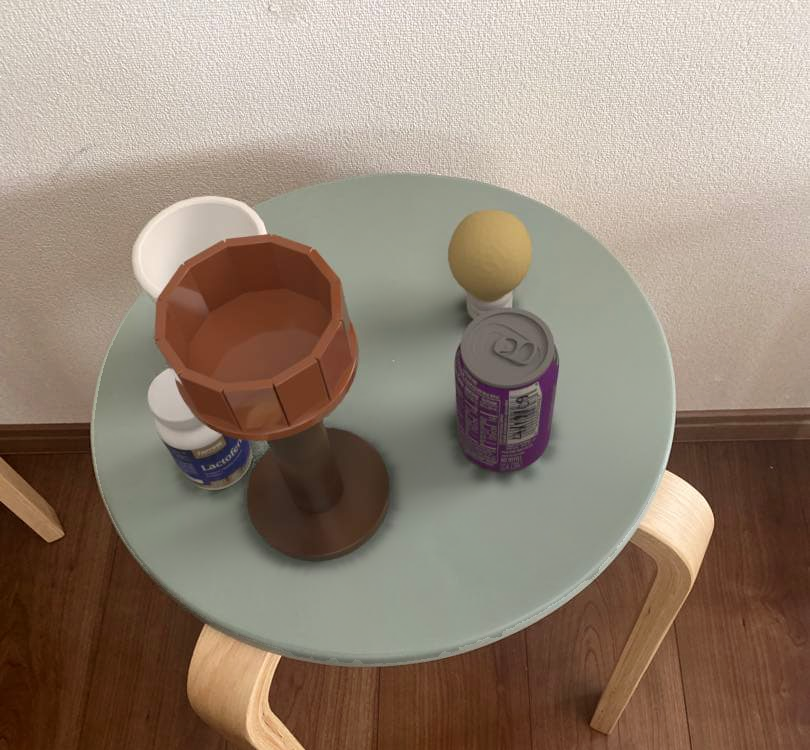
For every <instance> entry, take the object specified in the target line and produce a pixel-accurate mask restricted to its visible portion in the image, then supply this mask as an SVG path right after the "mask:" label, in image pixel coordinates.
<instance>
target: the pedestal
mask: <svg viewBox="0 0 810 750" xmlns="http://www.w3.org/2000/svg"><path fill="white" fill-rule="evenodd" d="M266 443H267V445H268V447H269V448H268V449H267V450H266V451H265V452H264V453H263V455H261V457H260V458H259V460H258V461H257V462H256V464H255V465H254V468H253V469H252V471H251V474H250V478H249V480H248V484H247V489H246V505H247V510H248V514H249V518H250V521H251V523H252V525H253V526H254V528H255V530H256V531H257V533H258V534H259V536H260V537H261V538H262V539H263V541H264V542H265V543H266V544H268V545H269V546H270V547H271V548H272V549H274V550H275V551H276V552H279V553H281V554H282V555H284V556H287V557H290V558H293V559H296V560H301V561H306V562H307V561H308V562H323V561H329V560H334V559H337V558H341V557H343V556H346V555H348V554H350V553H352V552H354V551H356V550H357V549H359V548H360V547H362V546H363V545H364V544H365V543H366V542H368V541H369V540H370V539H371V538H372V537H373V536H374V535H375V533H377V531H378V530H379V528H380V526H381V525H382V523H383V522H384V520H385V517H386V515H387V512H388V510H389V507H390V501H391V483H390V478H389V473H388V470H387V466H386V464H385V462H384V460H383V459H382V457H381V455H380V454H379V452H378V451H377V450H376V449H375V448H374V447H373V446H372V445H371V443H369V442H367V440H365V439H364V438H362V437H360V436H359V435H357V434H355V433H353V432H351V431H347V430H345V429H341V428H335V427H326V426H325V423H324V419H323V420H321V421H320V422H318V423H317V424H316V425H314V426H312V427H310V428H308V429H306V430H305V431H302V432H300V433H297V434H295V435H292V436H288V437H285V438H281V439H275V440H269V441H266Z"/></svg>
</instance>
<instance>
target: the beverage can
mask: <svg viewBox="0 0 810 750" xmlns="http://www.w3.org/2000/svg"><path fill="white" fill-rule="evenodd" d="M453 364H454V365H453V367H454V384H455V385H454V386H455V404H456V405H455V407H456V409H455V410H456V425H457V429H456V430H457V440H458V443H459V447H460V448H461V450H462V452H463V453H464V454H465V456H466V457H467V458H468V459H469V460H470V461H471V462H472V463H474V464H475V465H477V466H478V467H480V468H482V469H485V470H488V471H491V472H495V473H512V472H516V471H520V470H523V469H525V468H527V467H529V466H531V465H533V464H534V463H535V462H536V461H538V460H539V459H540V458H541V456H543V454H544V452H545V451H546V449H547V448H548V445H549V442H550V438H551V431H552V424H553V423H552V422H553V415H554V407H555V401H556V394H557V385H558V379H559V371H560V355H559V351H558V348H557V346H556V343H555V339H554V334H553V332H552V331H551V328H550V327H549V326H548V324H547V323H546V322H545V321H544V320H543V319H542V318H541V317H539V316H538V315H536V314H535V313H532V312H531V311H529V310H526V309H522V308H518V307H512V308H498V309H493V310H490V311H487V312H485V313H483V314H481V315H480V316H478V317H477V318H475V319H474V320H473V319H472V321H470V323H469V324H468V325H467V327H466V328H465V329H464V331H463V333H462V336H461V339H460V342H459V344H458V345H457V349H456V351H455V355H454V363H453Z"/></svg>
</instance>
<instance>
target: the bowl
mask: <svg viewBox="0 0 810 750" xmlns="http://www.w3.org/2000/svg"><path fill="white" fill-rule="evenodd" d="M157 299H158V301H156V306H155V319H154V336H153V337H154V339H153V340H154V342H155V345H156V347H157V349H158V350H159V352H160V354H161V356H162V357H163V360H164V361H165V363H166V364H167V366H168V368H170V370H171V372H172V373H173V375H174V377H175V382H176V385H177V388H178V391H179V393H180V395H181V397H182V399H183V400H184V402H185V404H186V406H187V407H188V409H189V410H190V411H191V413H192V414H193V415H194V416H195V417H196V418H197V419H198V420H199V421H200V422H201V423H203V424H204V425H206V426H207V427H208V428H210V429H212V430H214V431H216V432H218V433H220V434H222V435H225V436H228V437H231V438H235V439H240V440H248V441H249V442H265V441H266V442H267V441H269V440H275V439H281V438H285V437H288V436H292V435H295V434H297V433H300V432H302V431H305V430H306V429H308V428H310V427H312V426H314V425H316V424H317V423H318V422H320V421H321V420H323V421H324V419H326V418H327V417H328V416H329V415H330V414H331V413H332V412H334V411H335V410H336V408H338V406H339V405H340V404H341V403H342V402H343V400H344V398H346V396H347V394H348V393H349V391H350V389H351V387H352V385H353V384H354V381H355V377H356V375H357V372H358V366H359V359H360V349H359V342H358V336H357V333H356V329H355V325H354V323H353V321H352V319H351V317H350V315H349V310H348V305H347V302H346V298H345V293H344V288H343V283H342V281H341V278H340V276H338V274H337V273H336V272H335V270H334V269H333V268H332V267H331V266H330V265H329V263H327V261H326V260H325V258H324V257H323V256H322V255H321V254H320V252H318V250H317V249H316V248H314V247H312V246H309V245H307V244H304V243H301V242H298V241H295V240H292V239H289V238H286V237H284V236H280V235H277V234H271V233H267V234H264V235H256V236H247V237H238V238H229V239H226V240H225V242H224V241H223V240H222V241H220V242H218V243H216V244H215V245H213V246H211V247H209V248H207V249H206V250H204V251H202V252H200V253H199V254H197V255H195V256H193V257H192V258H190V259H188V260H186V261H185V262H184V265H183V264H181V265H180V267H179V268H178V269H177V271H176V272H175V274H174V275H173V277H172V278H171V279H170V281H169V282H168V284H167V285H166V287H165V288H164V289H163V291H162V292H161V294H160V295H159V297H158V298H157Z"/></svg>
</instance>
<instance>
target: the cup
mask: <svg viewBox="0 0 810 750" xmlns="http://www.w3.org/2000/svg"><path fill="white" fill-rule="evenodd" d="M264 234H268V232H267V229H266V227H265V223H264V221H263V219H262V218H260V216H259V215H258V213H257V212H256V211H255V210H254V209H253V208H251V207H250V206H249V205H248V204H246V203H245V202H243V201H240V200H236V199H234V198H230V197H226V196H218V195H205V196H195V197H190V198H187V199H183V200H179V201H177V202H174V203H173V204H171V205H169V206H167V207H166V208H164V209H162V210H161V211H159V212H158V213H157V214H156V215H155V216H154V217H152V218H150V220H148V221H147V223H146V224H145V226H144V227H143V228H142V229H141V231H140V232H139V234H138V235H137V237H136V240H135V242H134V244H133V246H132V248H131V249H132V250H131V266H132V269H133V274H134V277H135V279H136V280H137V282H138V283H139V284H140V286H141V288H142V290H144V292H145V293H146V295H147V296H148V297H149V299H150V300H151V302H152V303H153V304H154V306H155V307H156V301H158V299H157V298H158V297H159V295H160V294H161V292H162V291H163V289H164V288H165V287H166V285H167V284H168V282H169V281H170V279H171V278H172V277H173V275H174V274H175V272H176V271H177V269H178V268H179V267H180V265H181V264H183V265H184V262H185V261H186V260H188V259H190V258H192V257H193V256H195V255H197V254H199V253H200V252H202V251H204V250H206V249H207V248H209V247H211V246H213V245H215V244H216V243H218V242H220V241H222V240H223V241H224V242H225V240H226V239H229V238H238V237H247V236H256V235H264Z"/></svg>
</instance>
